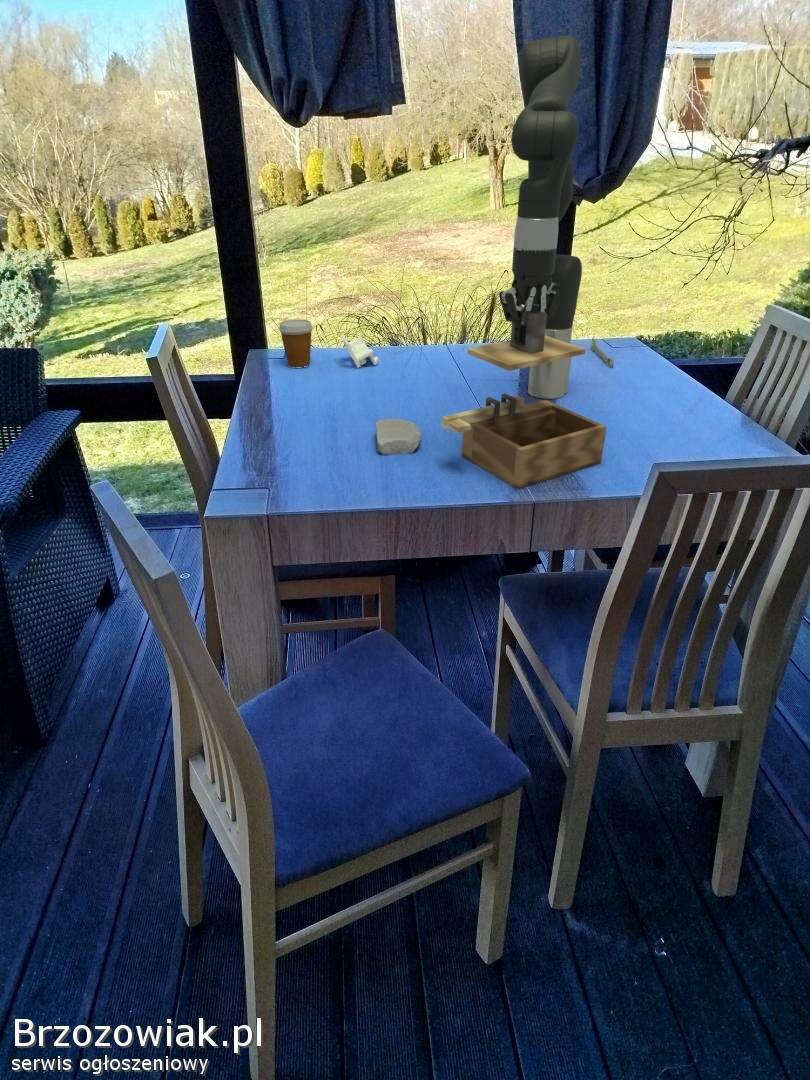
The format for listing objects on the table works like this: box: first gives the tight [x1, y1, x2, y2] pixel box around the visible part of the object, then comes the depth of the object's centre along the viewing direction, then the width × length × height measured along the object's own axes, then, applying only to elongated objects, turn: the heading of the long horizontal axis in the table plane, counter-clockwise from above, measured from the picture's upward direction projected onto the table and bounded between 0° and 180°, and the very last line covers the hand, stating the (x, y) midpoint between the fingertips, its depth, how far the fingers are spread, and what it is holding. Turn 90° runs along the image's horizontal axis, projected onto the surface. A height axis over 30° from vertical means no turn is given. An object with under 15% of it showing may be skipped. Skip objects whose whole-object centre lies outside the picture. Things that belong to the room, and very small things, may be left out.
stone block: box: [375, 418, 422, 456], centre depth 147 cm, size 12×5×10 cm
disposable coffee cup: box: [278, 318, 314, 368], centre depth 193 cm, size 10×10×12 cm
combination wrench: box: [589, 338, 615, 368], centre depth 201 cm, size 4×1×20 cm
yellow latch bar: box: [441, 394, 525, 435], centre depth 137 cm, size 19×6×3 cm, turn 122°
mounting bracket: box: [340, 333, 380, 368], centre depth 196 cm, size 12×6×11 cm, turn 14°
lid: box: [467, 309, 586, 372], centre depth 128 cm, size 19×12×8 cm, turn 123°
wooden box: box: [461, 393, 608, 490], centre depth 138 cm, size 22×18×12 cm
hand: (526, 342), depth 129 cm, fingers closed on lid, 3 cm apart
